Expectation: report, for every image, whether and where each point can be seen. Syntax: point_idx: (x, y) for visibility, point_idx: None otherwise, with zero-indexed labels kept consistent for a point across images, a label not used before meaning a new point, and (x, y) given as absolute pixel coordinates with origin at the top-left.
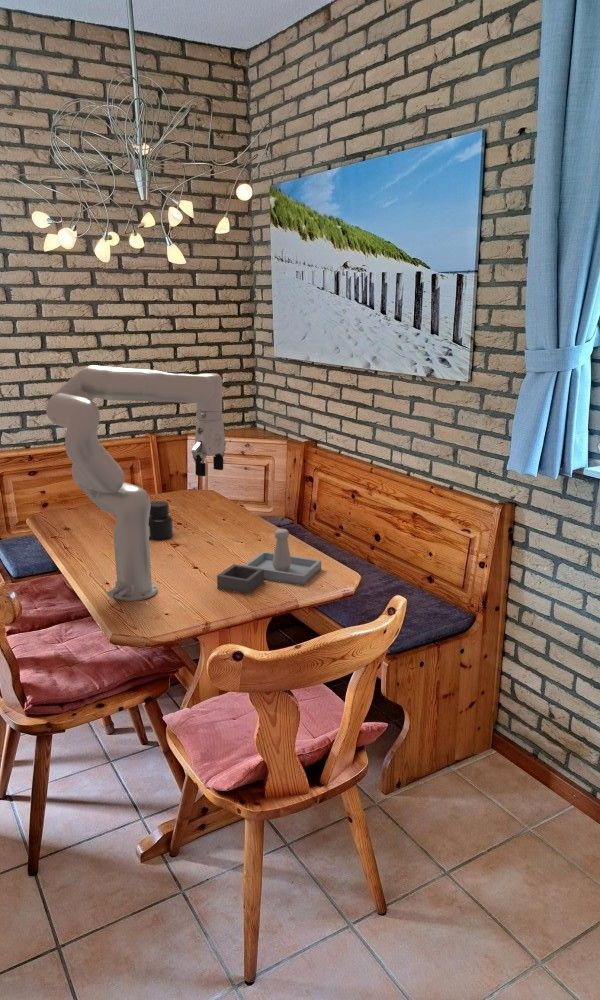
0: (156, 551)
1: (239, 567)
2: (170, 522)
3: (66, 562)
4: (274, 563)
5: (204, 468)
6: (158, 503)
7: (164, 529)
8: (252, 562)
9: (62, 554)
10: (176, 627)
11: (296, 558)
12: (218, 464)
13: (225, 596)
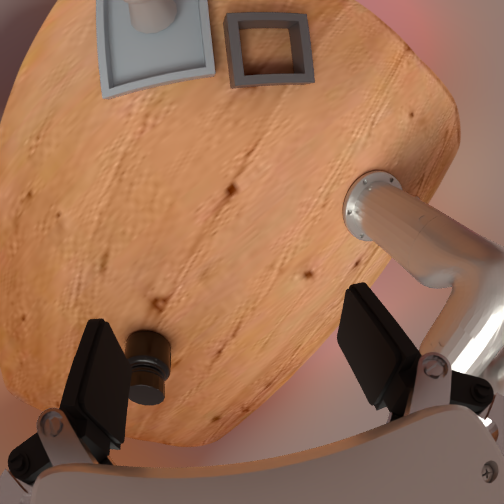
0: (205, 306)
1: (242, 65)
2: (136, 352)
3: (311, 353)
4: (173, 16)
5: (394, 319)
6: (143, 396)
7: (153, 346)
8: (176, 72)
9: (289, 373)
10: (431, 83)
11: (103, 15)
12: (109, 372)
13: (325, 55)
